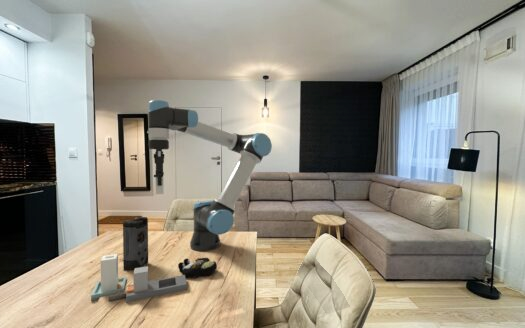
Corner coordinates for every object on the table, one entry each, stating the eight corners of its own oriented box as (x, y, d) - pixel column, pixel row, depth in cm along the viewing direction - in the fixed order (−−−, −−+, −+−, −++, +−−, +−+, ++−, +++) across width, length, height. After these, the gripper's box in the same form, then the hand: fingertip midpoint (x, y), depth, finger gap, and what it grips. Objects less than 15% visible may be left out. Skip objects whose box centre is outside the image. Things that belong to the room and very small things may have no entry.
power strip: (184, 282, 88) (184, 258, 87) (187, 292, 81) (186, 266, 81) (111, 297, 78) (110, 270, 78) (107, 310, 72) (106, 280, 72)
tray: (126, 281, 88) (126, 276, 88) (123, 294, 80) (123, 289, 80) (97, 286, 85) (97, 281, 85) (91, 300, 76) (91, 295, 76)
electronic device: (134, 273, 95) (133, 222, 94) (121, 271, 96) (120, 222, 95) (150, 262, 104) (149, 217, 103) (138, 261, 105) (137, 216, 104)
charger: (118, 284, 85) (117, 253, 85) (116, 290, 81) (116, 258, 81) (103, 286, 84) (103, 255, 83) (101, 293, 80) (100, 260, 79)
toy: (189, 254, 102) (220, 248, 98) (194, 272, 102) (225, 266, 98) (170, 268, 90) (204, 261, 86) (175, 287, 90) (210, 282, 86)
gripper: (149, 141, 107) (149, 188, 108) (147, 137, 84) (148, 196, 85) (167, 141, 110) (167, 187, 111) (170, 137, 87) (171, 195, 88)
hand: (159, 191), depth 98 cm, fingers open, 13 cm apart
